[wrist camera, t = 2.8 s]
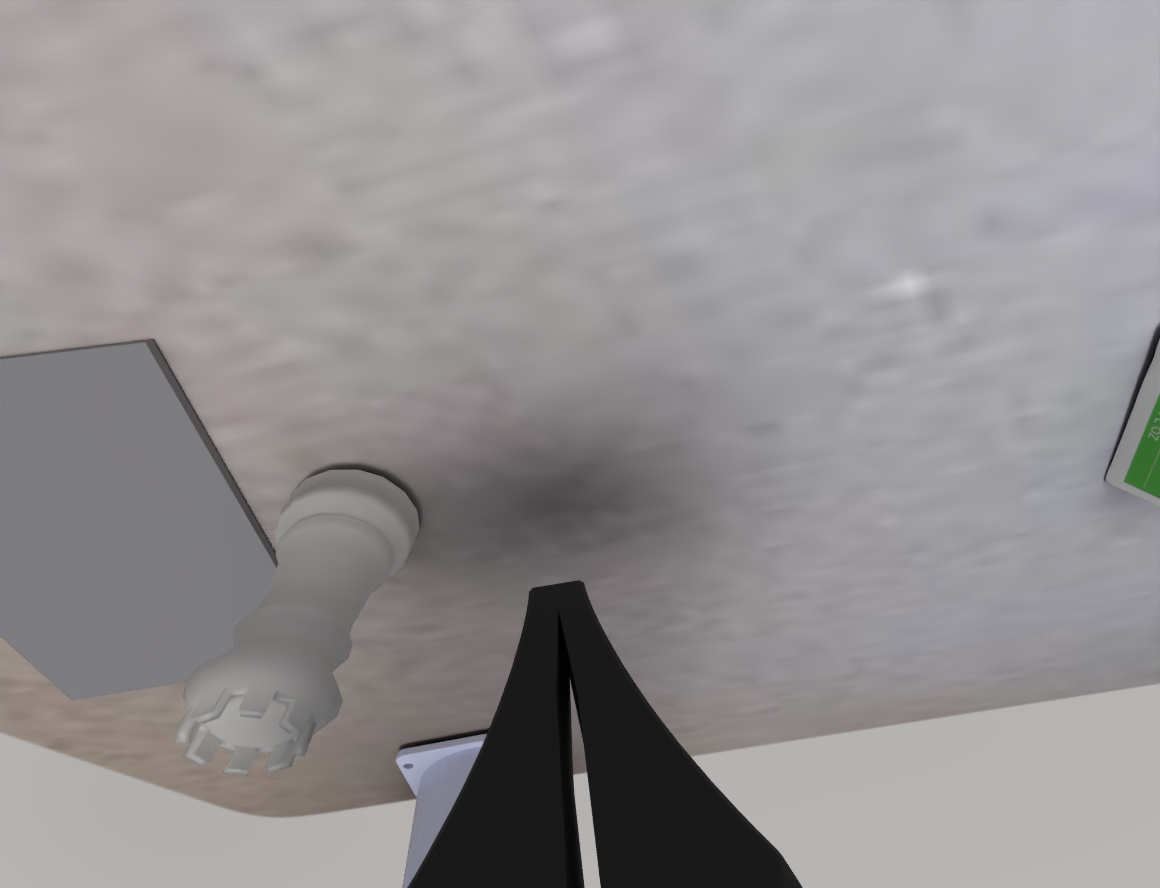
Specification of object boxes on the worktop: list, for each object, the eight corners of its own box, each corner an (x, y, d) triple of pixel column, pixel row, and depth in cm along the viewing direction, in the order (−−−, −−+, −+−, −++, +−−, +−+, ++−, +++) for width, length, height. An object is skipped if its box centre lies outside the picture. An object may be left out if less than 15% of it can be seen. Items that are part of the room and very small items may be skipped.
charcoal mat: (331, 651, 20) (328, 657, 19) (77, 693, 19) (72, 700, 19) (152, 339, 13) (145, 342, 12) (-256, 387, 12) (-273, 391, 12)
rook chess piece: (323, 439, 15) (154, 649, 8) (444, 498, 17) (392, 713, 10) (272, 529, 16) (89, 775, 9) (388, 574, 18) (307, 811, 11)
